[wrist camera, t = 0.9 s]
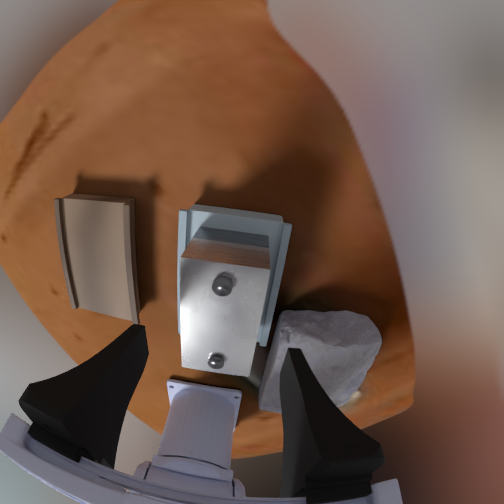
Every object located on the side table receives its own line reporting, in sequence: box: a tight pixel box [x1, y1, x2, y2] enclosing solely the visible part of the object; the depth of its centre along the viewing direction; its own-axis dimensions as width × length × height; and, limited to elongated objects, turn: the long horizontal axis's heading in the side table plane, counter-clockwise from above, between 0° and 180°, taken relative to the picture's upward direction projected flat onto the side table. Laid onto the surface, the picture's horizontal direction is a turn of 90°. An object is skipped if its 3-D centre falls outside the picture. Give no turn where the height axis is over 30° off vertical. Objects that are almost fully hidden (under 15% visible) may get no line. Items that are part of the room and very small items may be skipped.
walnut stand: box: [54, 193, 141, 325], centre depth 19 cm, size 7×10×2 cm
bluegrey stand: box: [177, 204, 292, 346], centre depth 19 cm, size 7×10×2 cm
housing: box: [180, 226, 271, 377], centre depth 17 cm, size 8×4×5 cm, turn 173°
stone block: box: [258, 310, 382, 413], centre depth 23 cm, size 12×5×10 cm
